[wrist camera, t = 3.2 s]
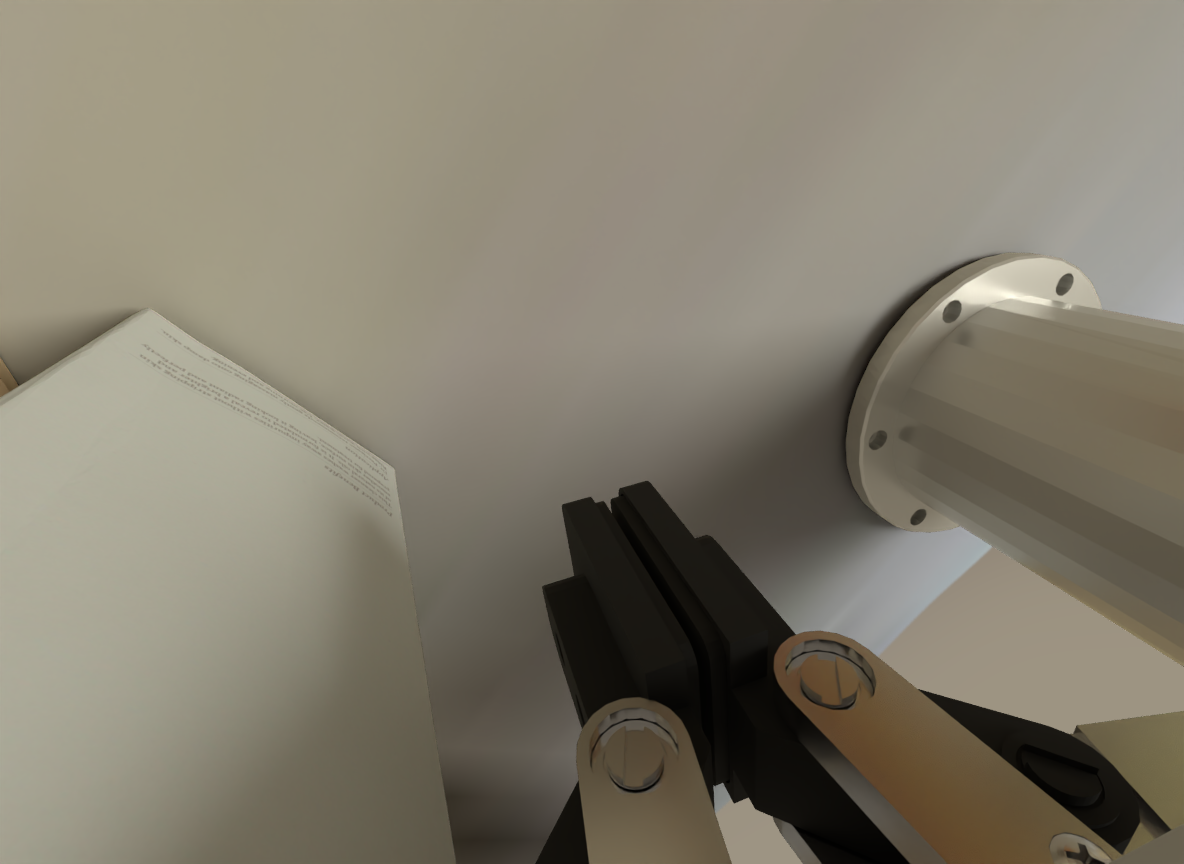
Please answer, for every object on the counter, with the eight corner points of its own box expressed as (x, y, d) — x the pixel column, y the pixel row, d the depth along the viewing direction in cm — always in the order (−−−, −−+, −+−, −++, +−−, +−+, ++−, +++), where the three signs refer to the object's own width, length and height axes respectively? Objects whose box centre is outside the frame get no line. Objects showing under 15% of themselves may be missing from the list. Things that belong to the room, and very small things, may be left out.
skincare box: (9, 457, 15) (-2595, 2390, 2) (158, 290, 14) (-1693, 1197, 2) (297, 594, 19) (129, 1458, 6) (417, 468, 19) (505, 1098, 6)
